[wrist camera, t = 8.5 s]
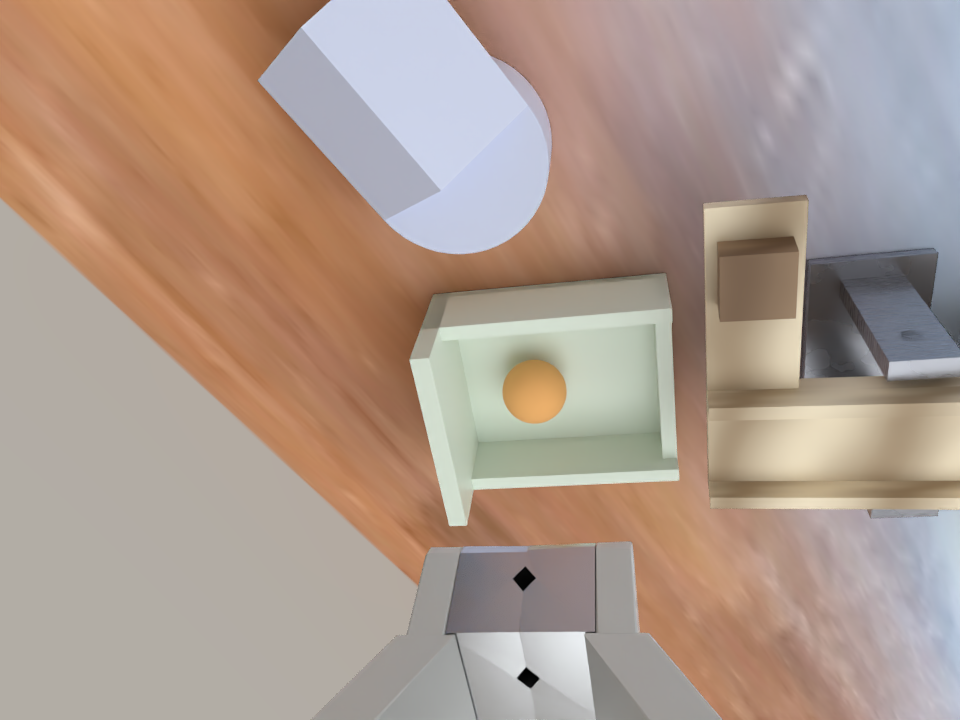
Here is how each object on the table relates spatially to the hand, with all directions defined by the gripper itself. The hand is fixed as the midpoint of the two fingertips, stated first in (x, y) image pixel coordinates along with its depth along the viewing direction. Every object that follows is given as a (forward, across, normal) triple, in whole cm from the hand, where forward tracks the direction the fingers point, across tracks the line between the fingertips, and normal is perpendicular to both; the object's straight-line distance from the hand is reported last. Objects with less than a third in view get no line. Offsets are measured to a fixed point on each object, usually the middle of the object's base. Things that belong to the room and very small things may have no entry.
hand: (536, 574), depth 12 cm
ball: (+29, +4, +16) cm, 33 cm away
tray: (+31, +2, +16) cm, 35 cm away
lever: (+23, -14, +16) cm, 31 cm away
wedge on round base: (+28, +10, -5) cm, 30 cm away
